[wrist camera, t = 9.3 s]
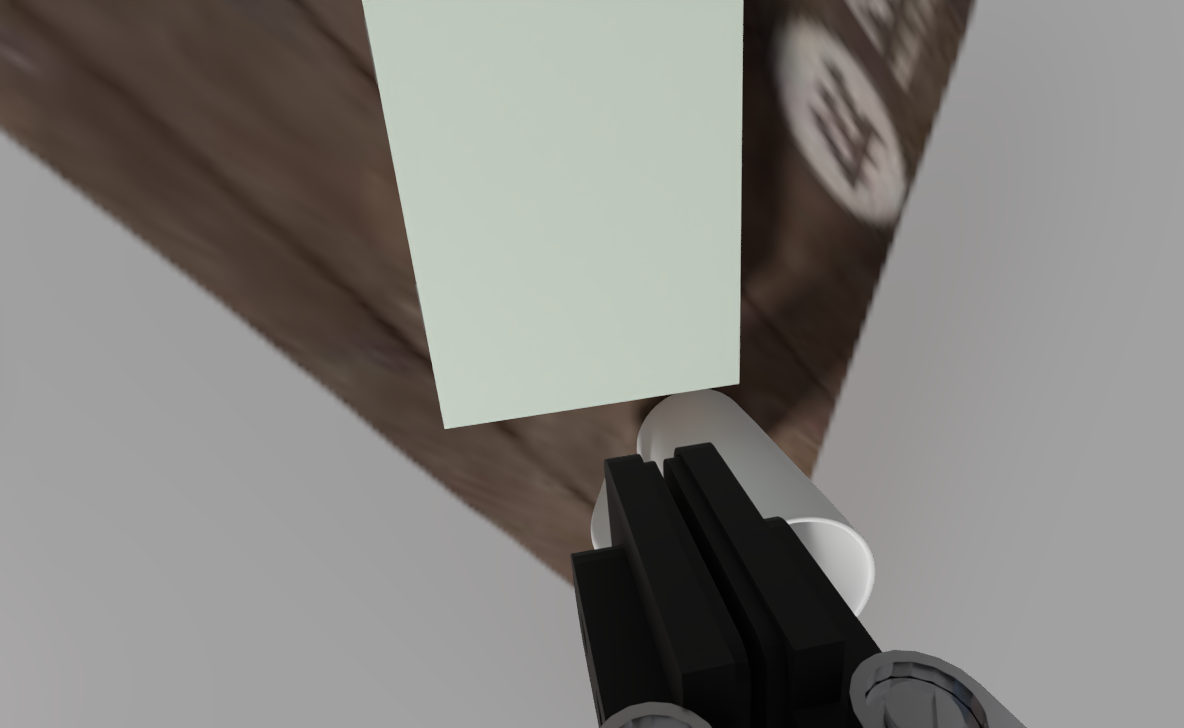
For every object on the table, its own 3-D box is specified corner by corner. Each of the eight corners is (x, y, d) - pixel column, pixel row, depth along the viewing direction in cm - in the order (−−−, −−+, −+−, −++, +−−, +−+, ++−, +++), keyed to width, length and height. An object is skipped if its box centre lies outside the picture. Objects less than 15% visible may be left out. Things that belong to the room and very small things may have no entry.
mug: (753, 375, 34) (885, 504, 23) (749, 482, 36) (866, 645, 25) (565, 399, 32) (609, 548, 21) (575, 509, 35) (619, 692, 24)
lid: (341, -125, 19) (336, -134, 18) (735, -139, 21) (744, -149, 20) (445, 420, 26) (444, 429, 25) (732, 376, 28) (739, 383, 27)
